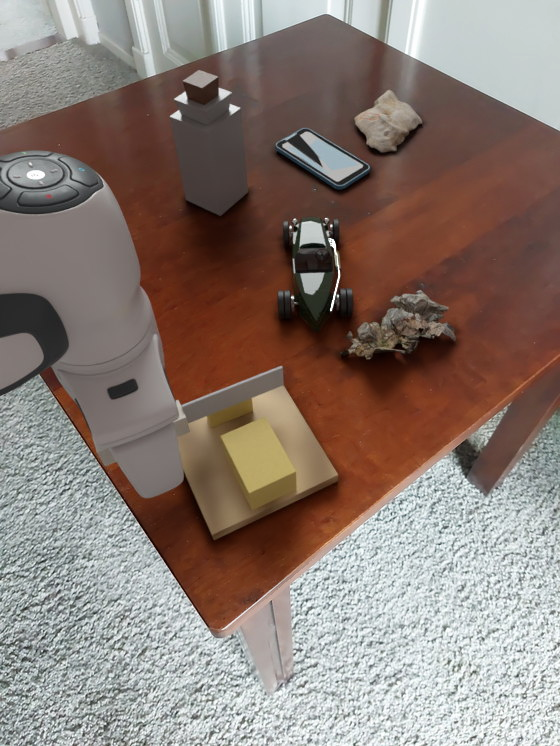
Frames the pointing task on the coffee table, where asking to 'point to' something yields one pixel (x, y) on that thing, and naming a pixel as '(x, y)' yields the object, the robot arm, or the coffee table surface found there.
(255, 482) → the butter
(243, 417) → the butter board
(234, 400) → the knife
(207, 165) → the perfume bottle
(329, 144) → the smartphone
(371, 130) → the stone
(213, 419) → the butter slice
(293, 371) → the coffee table surface
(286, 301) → the toy car
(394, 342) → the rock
